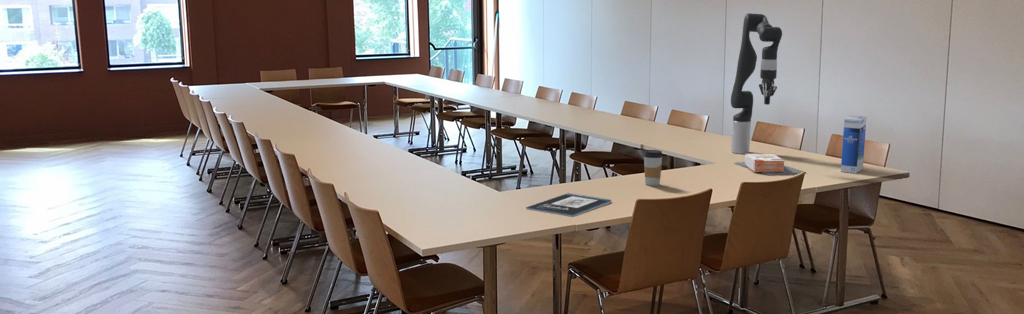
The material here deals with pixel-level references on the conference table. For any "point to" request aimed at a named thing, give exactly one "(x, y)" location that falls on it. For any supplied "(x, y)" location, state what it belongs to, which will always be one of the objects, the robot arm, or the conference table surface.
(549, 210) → the sketchbook
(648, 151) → the coffee cup
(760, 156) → the cracker box
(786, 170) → the mat
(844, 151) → the blue cardboard box
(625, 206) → the conference table surface
